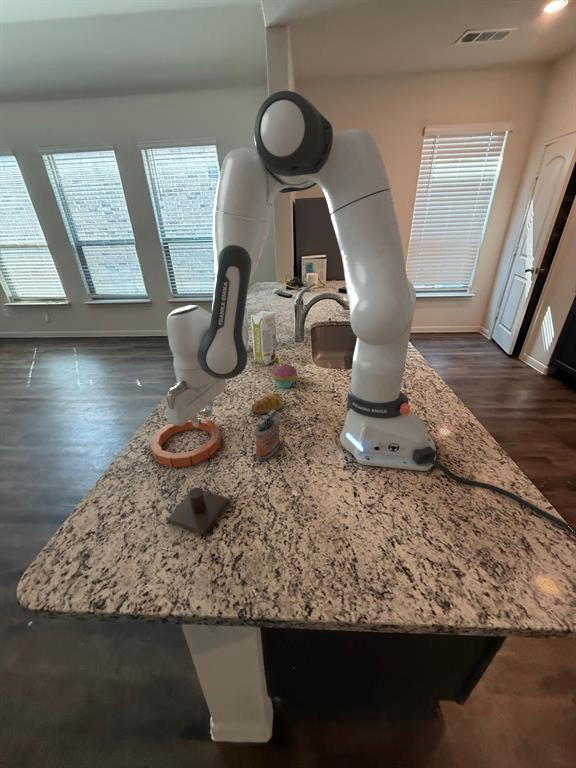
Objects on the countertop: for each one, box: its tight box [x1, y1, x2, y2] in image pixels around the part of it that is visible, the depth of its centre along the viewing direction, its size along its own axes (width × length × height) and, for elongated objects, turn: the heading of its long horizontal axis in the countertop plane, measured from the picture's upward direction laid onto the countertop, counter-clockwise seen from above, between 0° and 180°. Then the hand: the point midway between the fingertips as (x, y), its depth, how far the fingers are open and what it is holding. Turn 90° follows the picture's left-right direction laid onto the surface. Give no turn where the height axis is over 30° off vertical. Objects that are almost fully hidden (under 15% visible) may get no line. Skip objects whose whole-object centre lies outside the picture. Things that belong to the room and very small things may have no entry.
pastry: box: [251, 391, 285, 415], centre depth 92 cm, size 9×7×4 cm
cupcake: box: [270, 351, 298, 389], centre depth 103 cm, size 9×8×12 cm
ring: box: [149, 417, 222, 468], centre depth 78 cm, size 16×16×2 cm
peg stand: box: [167, 487, 229, 536], centre depth 59 cm, size 8×8×5 cm
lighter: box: [253, 410, 281, 462], centre depth 73 cm, size 8×3×10 cm, turn 148°
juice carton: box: [250, 310, 278, 366], centre depth 120 cm, size 8×9×19 cm
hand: (202, 420), depth 83 cm, fingers open, 3 cm apart
